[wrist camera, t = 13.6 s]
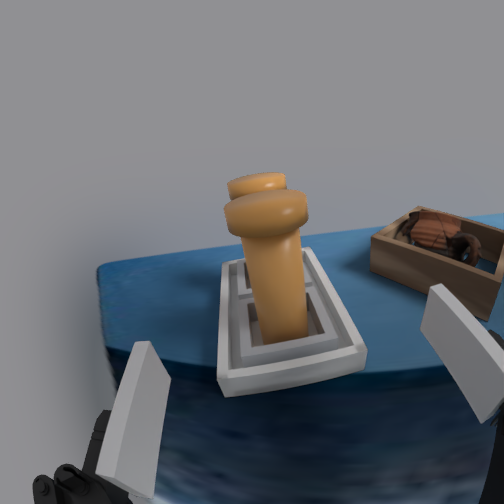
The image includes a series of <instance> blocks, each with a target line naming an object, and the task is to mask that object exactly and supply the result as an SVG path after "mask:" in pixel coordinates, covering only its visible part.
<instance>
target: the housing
mask: <svg viewBox="0 0 504 504" xmlns="http://www.w3.org/2000/svg"><path fill="white" fill-rule="evenodd" d="M301 250H302V259H303V270H304V280H305V292H306V304H307V318H308V333H309V337H305V338H300V339H295V340H290V341H285V342H280V343H275V344H269V345H264V344H263V340H262V335H261V331H260V326H259V321H258V317H257V312H256V307H255V303H254V298H253V293H252V289H251V284H250V279H249V274H248V270H247V265H246V260H245V258H244V259H239V260H233V261H227V262H222V277H221V294H220V313H219V335H218V361H217V381H218V383H219V386H220V388H221V390H222V392H223V394H224V397H233V396H241V395H249V394H256V393H263V392H269V391H275V390H281V389H286V388H291V387H296V386H301V385H306V384H311V383H315V382H319V381H324V380H328V379H332V378H336V377H339V376H343V375H347V374H350V373H354V372H357V371H361V370H364V368H365V363H366V357H367V351H368V349H367V347H366V345H365V343H364V341H363V340H362V338H361V336H360V334H359V332H358V330H357V328H356V327H355V325H354V323H353V321H352V319H351V317H350V316H349V314H348V312H347V310H346V308H345V307H344V305H343V303H342V301H341V299H340V298H339V296H338V294H337V292H336V291H335V289H334V287H333V285H332V284H331V282H330V280H329V278H328V277H327V275H326V273H325V272H324V270H323V268H322V266H321V265H320V263H319V261H318V260H317V258H316V256H315V255H314V253H313V251H312V250H311V248H310V247H305V248H301Z"/></svg>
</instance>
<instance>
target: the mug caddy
mask: <svg viewBox="0 0 504 504" xmlns="http://www.w3.org/2000/svg"><path fill="white" fill-rule="evenodd" d="M414 211H432V212H440V213H445V212H441V211H437V210H433V209H429V208H425V207H421V206H417V207H416V208H414V209H413V210H411V211H410V212H414ZM410 212H408V213H407V214H405V215H404V216H402V217H401V218H399V219H398V220H396V221H394V222H393V223H392V224H390V225H388V226H387V227H385V228H384V229H382V230H380V231H379V232H377V233H376V234H374V235H372V236H371V251H370V271H371V272H374V273H376V274H379V275H381V276H384V277H386V278H388V279H391V280H393V281H396V282H398V283H400V284H403V285H405V286H408V287H410V288H412V289H415V290H417V291H419V292H422V293H424V294H426V295H428V294H429V289H430V287H431V286H434V285H437V284H441V283H442V284H443V285H444V286H445V287H446V288H447V289H448V290H449V291H450V292H451V293H452V294H453V295H454V296H455V297H456V298H457V299H458V300H459V301H460V302H461V303H462V304H463V306H464V307H465V308H466V309H467V310H468V311H469V312H470V313H471V314H472V315H474V316H476V317H478V318H481V319H483V320H485V321H488V319H489V316H490V314H491V311H492V308H493V306H494V303H495V300H496V297H497V294H498V291H499V288H500V285H501V282H502V278H503V274H504V230H501V229H498V228H495V227H492V226H489V225H486V224H483V223H479V222H476V221H473V220H470V219H466V218H463V217H459V216H455V215H452V214H449V215H452V216H455V217H457V218H458V219H460V221H461V225H460V230H461V231H462V233H469V234H472V235H473V236H475V237H476V238H477V239H478V240H479V242H480V244H481V258H483V259H486V260H488V261H491V262H494V263H496V264H498V265H497V268H496V271H495V274H494V275H493V274H491V273H488V272H485V271H483V270H480V269H478V268H475V267H472V266H470V265H467V264H464V263H462V262H459V261H456V260H453V259H451V258H448V257H445V256H442V255H439V254H436V253H433V252H431V251H428V250H425V249H422V248H419V247H416V246H413V245H411V244H412V243H413V242H415V241H413V240H412V238H411V233H408V234H406V235H405V236H402V235H403V234H402V233H401V230H402V228H403V226H404V225H405V224H406V223H407V222H408V221H409V213H410ZM445 214H448V213H445ZM465 252H466V253H470V246H469V247H467V249H466V251H465Z"/></svg>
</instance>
